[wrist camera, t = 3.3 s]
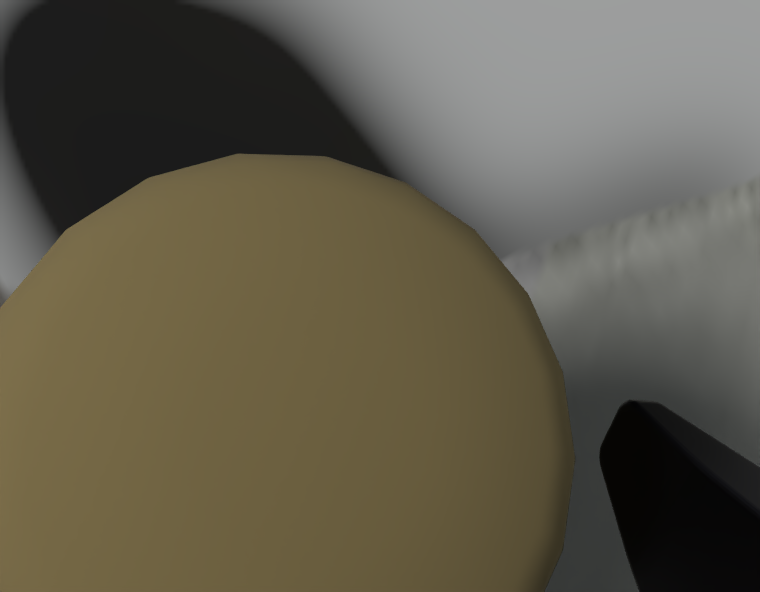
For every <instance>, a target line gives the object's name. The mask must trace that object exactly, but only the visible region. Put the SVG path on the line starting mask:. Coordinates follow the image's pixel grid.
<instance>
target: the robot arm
mask: <svg viewBox="0 0 760 592" xmlns="http://www.w3.org/2000/svg"><path fill="white" fill-rule="evenodd" d="M599 458H600V465H601V469H602V473H603V476H604V479H605V483H606V486H607V490H608V493H609V496H610V500H611V503H612V507H613V510H614V514H615V517H616V520H617V524H618V527H619V531H620V534H621V538H622V541H623V544H624V548H625V551H626V555H627V558H628V561H629V564H630V567H631V570H632V573H633V576H634V578H635V581H636V584H637V586H638V589H639V592H760V467H758V466H757V465H755V464H754V463H752V462H751V461H749V460H747V459H746V458H744V457H743V456H741V455H740V454H738V453H736V452H735V451H733V450H732V449H730V448H729V447H727V446H726V445H724V444H722V443H721V442H719V441H718V440H716V439H715V438H713V437H712V436H710V435H708V434H707V433H705V432H704V431H702V430H701V429H699V428H697V427H696V426H694V425H693V424H691V423H690V422H688V421H687V420H685V419H683V418H682V417H680V416H679V415H677V414H676V413H674V412H673V411H671V410H669V409H668V408H666V407H665V406H663V405H662V404H660V403H658V402H655V401H645V400H628V401H625V402H624V403H623V404H622V405H621V406H620V407H619V409H618V411H617V413H616V415H615V417H614V419H613V421H612V424H611V426H610V428H609V430H608V432H607V434H606V436H605V438H604V440H603V442H602V445H601V448H600V456H599Z"/></svg>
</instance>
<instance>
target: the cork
mask: <svg viewBox="0 0 760 592" xmlns="http://www.w3.org/2000/svg"><path fill="white" fill-rule="evenodd" d="M574 464H575V454H574V447H573V440H572V433H571V426H570V419H569V412H568V405H567V398H566V391H565V384H564V377H563V371H562V369H561V367H560V365H559V362H558V360H557V358H556V356H555V353H554V351H553V349H552V347H551V344H550V342H549V340H548V338H547V335H546V333H545V331H544V329H543V326H542V324H541V322H540V319H539V317H538V315H537V313H536V310H535V308H534V306H533V304H532V301H531V299H530V297H529V295H528V293H527V292H526V291H525V290H524V288H523V287H522V286H521V285H520V284H519V282H518V281H517V280H516V279H515V278H514V276H513V275H512V274H511V273H510V272H509V270H508V269H507V268H506V267H505V266H504V264H503V263H502V262H501V261H500V260H499V258H498V257H497V256H496V255H495V253H494V252H493V251H492V250H491V249H490V247H489V246H488V245H487V244H486V243H485V241H484V240H483V239H482V238H481V237H480V235H479V234H478V233H477V232H476V231H475V230H474V229H473V228H471V227H470V226H469V225H467V224H466V223H464V222H462V221H461V220H460V219H458V218H457V217H455V216H454V215H452V214H451V213H449V212H448V211H446V210H445V209H444V208H442V207H440V206H439V205H438V204H436V203H435V202H433V201H432V200H430V199H429V198H427V197H426V196H425V195H423V194H422V193H420V192H419V191H417V190H416V189H414V188H413V187H411V186H410V185H408V184H407V183H405V182H402V181H399V180H396V179H393V178H390V177H387V176H384V175H381V174H377V173H375V172H371V171H368V170H365V169H362V168H359V167H356V166H353V165H350V164H347V163H344V162H341V161H338V160H335V159H332V158H328V157H326V156H295V155H294V156H293V155H258V154H235V155H231V156H228V157H224V158H220V159H217V160H213V161H209V162H206V163H202V164H198V165H195V166H191V167H187V168H183V169H180V170H176V171H172V172H168V173H165V174H161V175H157V176H154V177H150V178H148V179H146V180H144V181H143V182H141V183H140V184H138V185H136V186H135V187H133V188H132V189H130V190H129V191H127V192H125V193H124V194H122V195H121V196H119V197H118V198H116V199H114V200H113V201H111V202H110V203H108V204H107V205H105V206H103V207H102V208H100V209H98V210H97V211H95V212H94V213H92V214H90V215H89V216H87V217H86V218H84V219H83V220H81V221H79V222H78V223H76V224H75V225H73V226H71V227H70V228H68V229H67V230H66V231H65V232H64V233H63V234H62V236H61V237H60V238H59V239H58V240H57V241H56V243H55V244H54V245H53V246H52V247H51V248H50V250H49V251H48V252H47V253H46V254H45V256H44V257H43V258H42V259H41V261H40V262H39V263H38V264H37V265H36V266H35V268H34V269H33V270H32V271H31V272H30V273H29V275H28V276H27V277H26V278H25V279H24V280H23V282H22V283H21V284H20V285H19V286H18V288H17V289H16V290H15V291H14V292H13V293H12V295H11V296H10V297H9V298H8V299H7V301H6V302H5V303H4V304H3V305H2V306H1V308H0V592H544V591H545V589H546V587H547V584H548V582H549V580H550V578H551V575H552V573H553V571H554V569H555V566H556V564H557V562H558V560H559V557H560V555H561V553H562V551H563V545H564V538H565V531H566V523H567V516H568V509H569V501H570V494H571V486H572V479H573V472H574Z"/></svg>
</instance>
